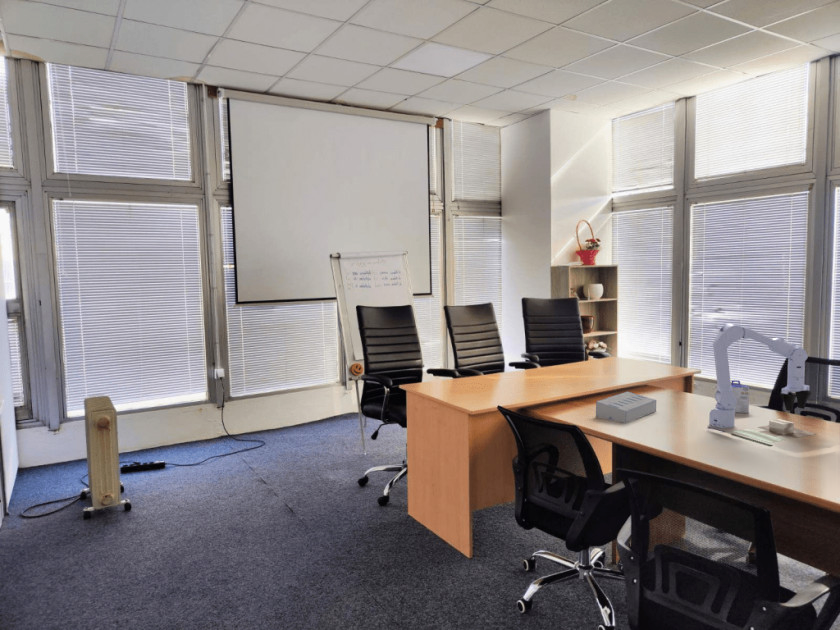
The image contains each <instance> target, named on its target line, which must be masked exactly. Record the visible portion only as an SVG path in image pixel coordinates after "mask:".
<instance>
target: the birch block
mask: <svg viewBox="0 0 840 630" xmlns="http://www.w3.org/2000/svg"><path fill="white" fill-rule="evenodd" d="M768 425H769V431H773V432H777V433H780V434H788V433H793V432H794V428H795V423H794V422H792V421H789V420H784V419H780V418H778V419H771V420H769V422H768Z"/></svg>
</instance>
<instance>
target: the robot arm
mask: <svg viewBox="0 0 840 630" xmlns="http://www.w3.org/2000/svg"><path fill="white" fill-rule="evenodd" d="M742 339H743V340H744V339H745V340H746V339H747V340H748V339H750V340H751V339H752V341H753V340H754V341H756V342H758V343H760V344H763V345H765V346H767V348H768V350H769V351H770V352H773V353H776V354H777V355H780V356H782V357H784V358H786V359H787V380H786V381H787V385H786V386H785V387H782V388H781V391H780V392H779V395H780V397H781V399H782V401H783V403H784V408H785V410H786V411H788V412H789V411H790V412H793V410H794V404H795V399H797V400H796V401H797V408H798V409H802V410H803V409H804V410H805V408H806V405H807V401H808V400H809V398H810V396H811V395H812V391H810V385H807V384H805V377H806V376H805V373H806V372H805V371H806V370H805V369H806V361H807V360H808V357H809V355H808V354H807V351H806V350H805V349H804V348H802V347H798V346H797V345H796V344H795V343H790V342H787V341H785V339H784V338H783V337H779V338H778V337H774V338H770V337H768V336H766V335H764V334H762V333H759V332H757V331H756V330H753V329H751V328H748V327H744V326H741V325H738V324H737V325H736V324H734V323H732V322H731V323H725V324H724V325H723V326H721V328H719V329H718V333H717V334H716V337H715V338H714V341H713V343H712V346H713V348H712V349H713V355H714V357H713V358H714V366H715V375H716V376H715V377H716V383H717V384H716V388H715V389H716V392H715V394H714V400H715V401H716V404H715V407H714V408H713V409H711V410H710V412H709V420H708V421H709V424H708V425H707V428H710V429H712V430H715V431H716V430H717V431H720V432H722V433H723V432H724V433H725V432H726V431H725V430H723V429H726V428H734V427H735V420H736V419H735V418H736V412H735V406H736V404H737V400H736V398H735V396H734V394H733V389H732V387H731V385H732V381H731V373H730V365H729V364H730V363H729V354H728V348H729V347H730V346H731V345H732V344H733V343H736V342H738V341H739V340H742ZM793 393H794V394H793ZM718 428H719V429H718Z"/></svg>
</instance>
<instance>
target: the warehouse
mask: <svg viewBox="0 0 840 630" xmlns="http://www.w3.org/2000/svg"><path fill="white" fill-rule="evenodd" d="M654 412H655V413H656V412H657V399H654V398H651V397H647V396H644V395H640V394H637V393H634V392H631V391H625V392H622V393H621V392H620V393H619V394H615V395H613V396H609V397H607V398H603V399H599V400H597V401H595V418H600V419H604V420H607V421H614V422H617V423H618V422H619V423H624V424H627V423H630V422H632V421H634V420H635V421H636V420H637V419H639V418H641V417H644V416H647V415H650V414H652V413H654Z"/></svg>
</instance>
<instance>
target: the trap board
mask: <svg viewBox="0 0 840 630" xmlns="http://www.w3.org/2000/svg"><path fill="white" fill-rule="evenodd" d="M757 428H759V429H762V430H760V431H757V430H751V429H749V428H746V429H739V430H733V431H732V430H731V432H732V433H731V436H733V437H736V438H740V439H744V440H747V441H750V442H754V443H756V444H759V445H764V446H767V447H774V445H772V444H770V443H775V442H781V441H786V439H784V438H781V437H780V436H787V437H791V438H796V439H799V438H803V437H804V438H805V437H808V436H809V437H810V436H815V435H818V433H816V432H812V431H807V430H804V429H800V428H796V427H794V432H793V433H788V434H780V433H777V432H773V431H769V424H768V425H763V426H758V427H757ZM738 434H739V435H738Z"/></svg>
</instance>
